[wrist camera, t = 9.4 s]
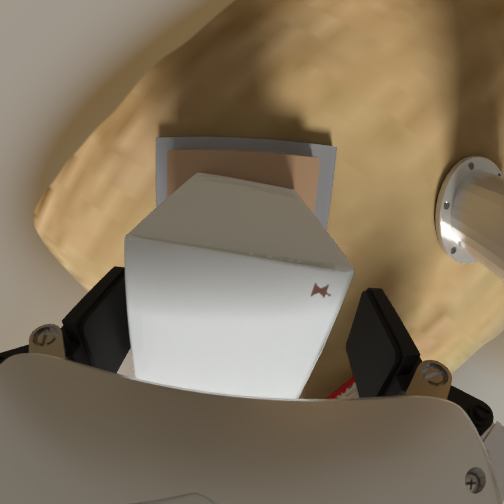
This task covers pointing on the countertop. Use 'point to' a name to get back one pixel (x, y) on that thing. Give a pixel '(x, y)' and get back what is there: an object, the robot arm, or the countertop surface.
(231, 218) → the supplement box
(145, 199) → the countertop surface
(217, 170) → the pedestal
